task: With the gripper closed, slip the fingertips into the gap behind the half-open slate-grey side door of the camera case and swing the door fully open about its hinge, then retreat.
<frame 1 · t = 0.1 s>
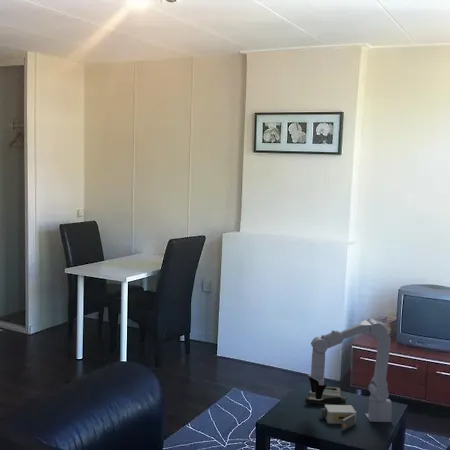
hand: (316, 395, 263), 10 cm above the table, tool pointing down, fingers open, 7 cm apart
camcorder: (326, 401, 285), on the table
side door: (349, 422, 255), point 3 cm above the table, hinge at 45.0°
camera case: (339, 419, 263), on the table
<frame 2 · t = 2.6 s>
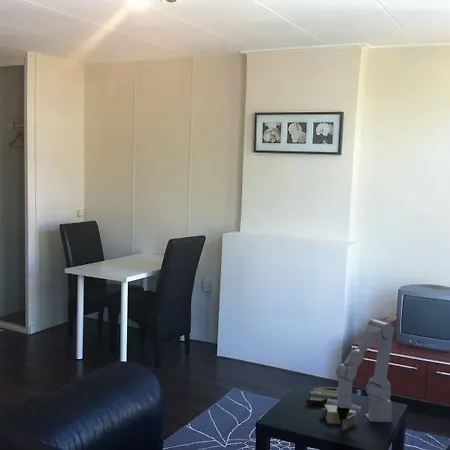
hand: (342, 424, 255), 2 cm above the table, tool pointing down, fingers closed
side door: (349, 422, 255), point 3 cm above the table, hinge at 45.6°, touching gripper
everything else where it was.
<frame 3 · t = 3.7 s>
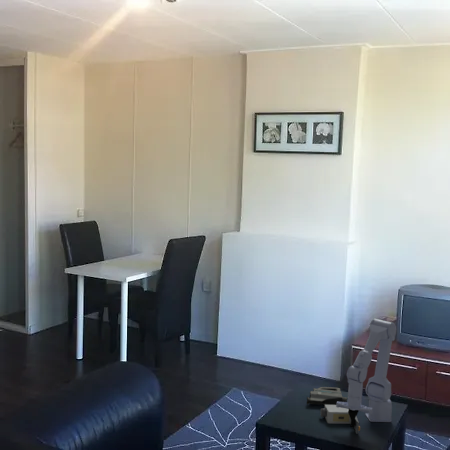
hand: (352, 426, 252), 2 cm above the table, tool pointing down, fingers closed, pressing on side door
side door: (356, 423, 254), point 3 cm above the table, hinge at 82.5°, touching gripper
everything else where it was.
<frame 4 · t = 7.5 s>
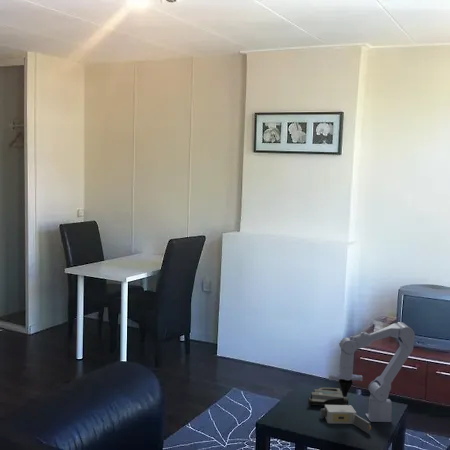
hand: (344, 396, 264), 10 cm above the table, tool pointing down, fingers closed
side door: (361, 423, 254), point 3 cm above the table, hinge at 112.3°
at the end: side door at +112° (first picture: +45°); side door touching nothing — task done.
